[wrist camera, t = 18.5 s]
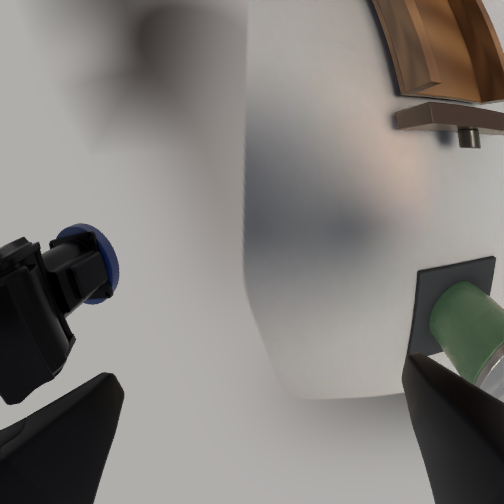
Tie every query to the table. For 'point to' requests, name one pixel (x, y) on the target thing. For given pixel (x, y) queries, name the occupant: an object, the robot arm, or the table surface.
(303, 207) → the table surface
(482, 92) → the drawer
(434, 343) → the mat
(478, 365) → the green tea canister
